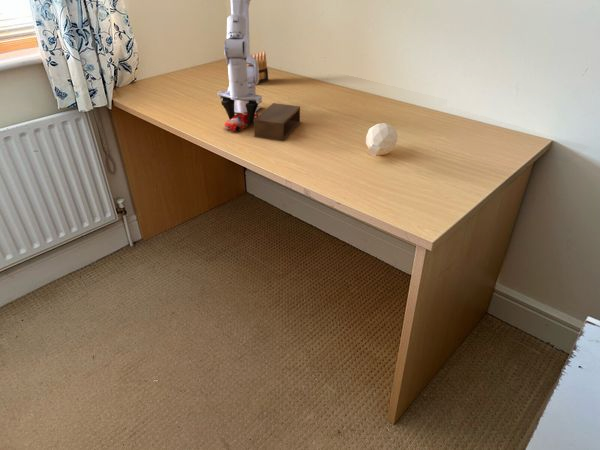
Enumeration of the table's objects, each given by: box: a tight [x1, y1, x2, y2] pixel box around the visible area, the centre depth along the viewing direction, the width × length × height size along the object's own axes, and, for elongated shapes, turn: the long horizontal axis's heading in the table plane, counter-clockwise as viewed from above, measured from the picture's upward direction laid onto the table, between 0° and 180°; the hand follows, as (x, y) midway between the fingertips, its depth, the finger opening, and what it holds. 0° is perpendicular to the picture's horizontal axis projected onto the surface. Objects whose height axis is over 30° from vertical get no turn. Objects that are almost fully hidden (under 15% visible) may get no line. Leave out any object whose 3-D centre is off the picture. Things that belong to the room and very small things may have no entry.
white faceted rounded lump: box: [365, 122, 398, 158], centre depth 123 cm, size 9×9×12 cm
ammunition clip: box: [247, 50, 269, 84], centre depth 179 cm, size 11×2×12 cm, turn 137°
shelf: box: [253, 102, 301, 142], centre depth 139 cm, size 10×16×6 cm, turn 160°
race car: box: [224, 112, 259, 133], centre depth 141 cm, size 13×5×4 cm, turn 140°
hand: (241, 122), depth 142 cm, fingers closed on race car, 6 cm apart
